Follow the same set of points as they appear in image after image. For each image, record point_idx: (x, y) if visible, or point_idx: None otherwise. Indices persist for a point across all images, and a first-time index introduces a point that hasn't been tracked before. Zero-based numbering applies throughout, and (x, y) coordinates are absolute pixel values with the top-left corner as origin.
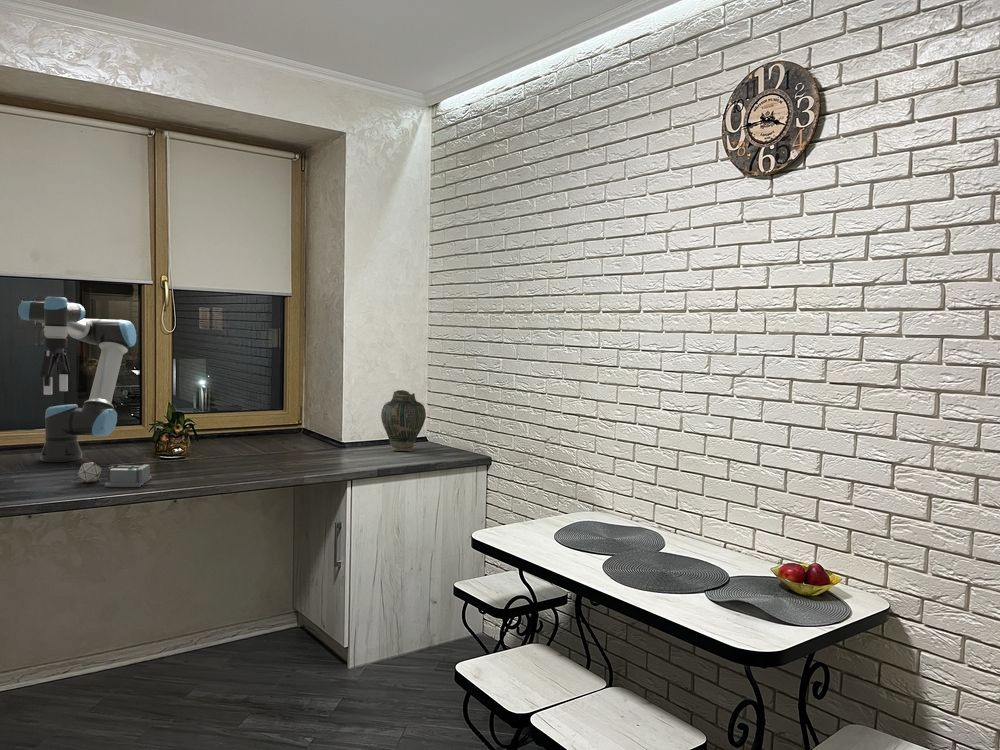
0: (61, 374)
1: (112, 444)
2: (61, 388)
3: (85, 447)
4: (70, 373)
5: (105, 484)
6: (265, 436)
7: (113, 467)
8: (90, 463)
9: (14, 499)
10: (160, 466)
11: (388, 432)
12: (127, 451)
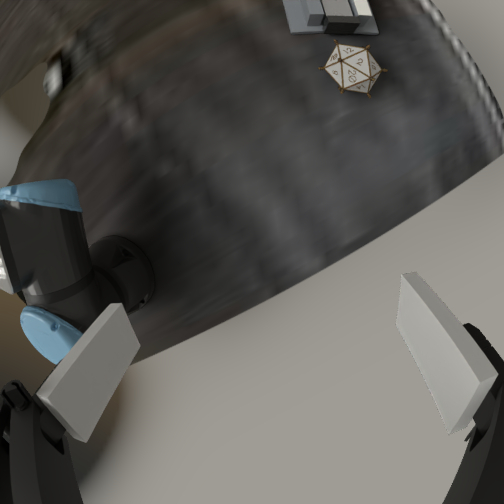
0: (72, 432)
1: None
2: (127, 347)
3: None
4: (9, 382)
5: (377, 32)
6: None
7: (341, 16)
8: (362, 59)
9: (481, 159)
10: (139, 28)
11: None
12: None
